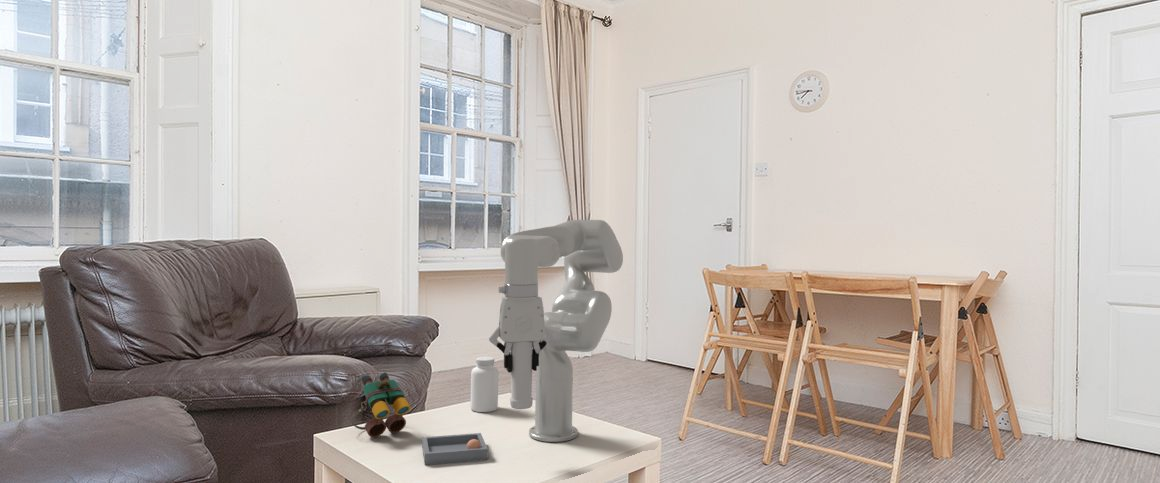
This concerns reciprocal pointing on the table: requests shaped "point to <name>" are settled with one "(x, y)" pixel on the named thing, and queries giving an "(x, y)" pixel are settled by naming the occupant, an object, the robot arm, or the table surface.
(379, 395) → the binoculars
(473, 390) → the pill bottle
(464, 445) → the tray
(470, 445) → the ball
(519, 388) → the bottle
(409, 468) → the table surface
